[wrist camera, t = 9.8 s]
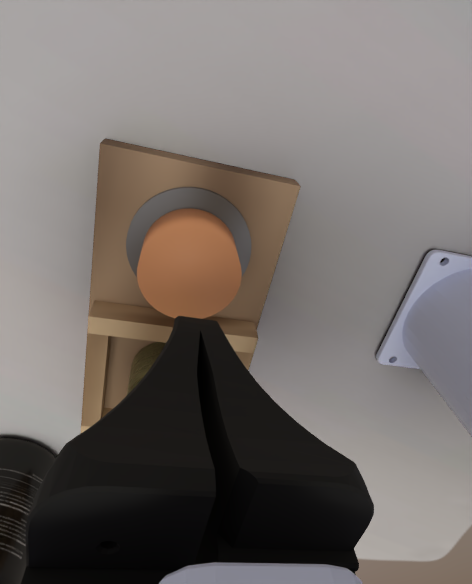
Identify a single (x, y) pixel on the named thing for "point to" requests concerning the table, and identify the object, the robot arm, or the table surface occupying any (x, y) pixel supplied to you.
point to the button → (189, 264)
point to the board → (128, 244)
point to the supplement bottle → (18, 500)
